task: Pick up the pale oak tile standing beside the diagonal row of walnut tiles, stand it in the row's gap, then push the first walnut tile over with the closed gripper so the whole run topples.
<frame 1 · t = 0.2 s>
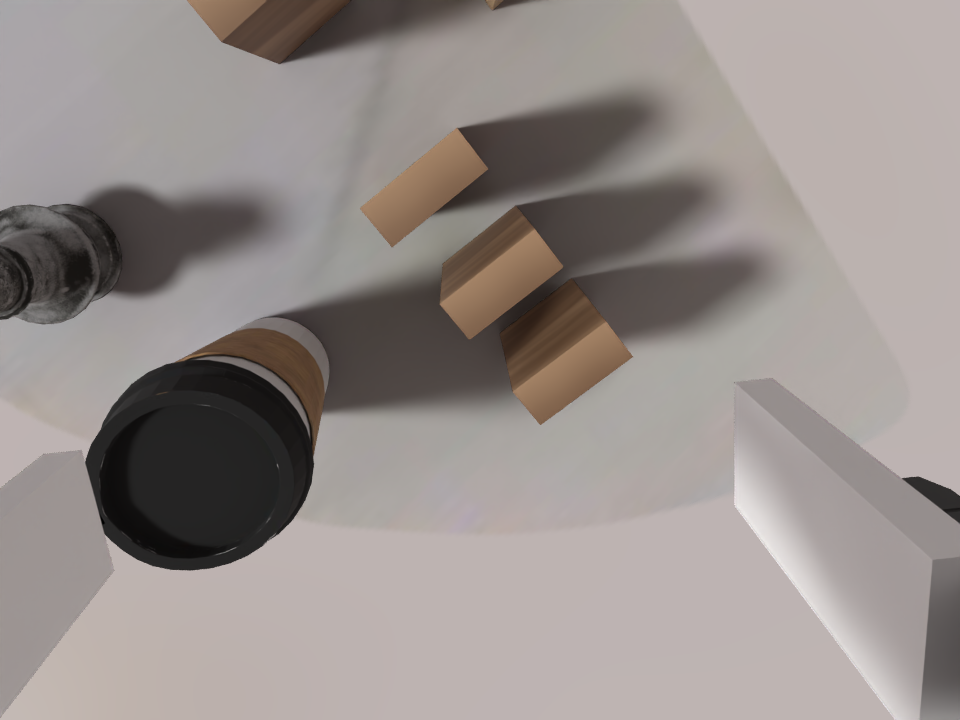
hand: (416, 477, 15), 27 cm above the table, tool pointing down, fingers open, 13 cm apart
domino 6: (546, 319, 43), on the table
coffee cup: (277, 366, 43), on the table
domino 4: (431, 174, 40), on the table
domino 5: (490, 249, 41), on the table
domino 2: (303, 13, 38), on the table
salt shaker: (73, 254, 41), on the table
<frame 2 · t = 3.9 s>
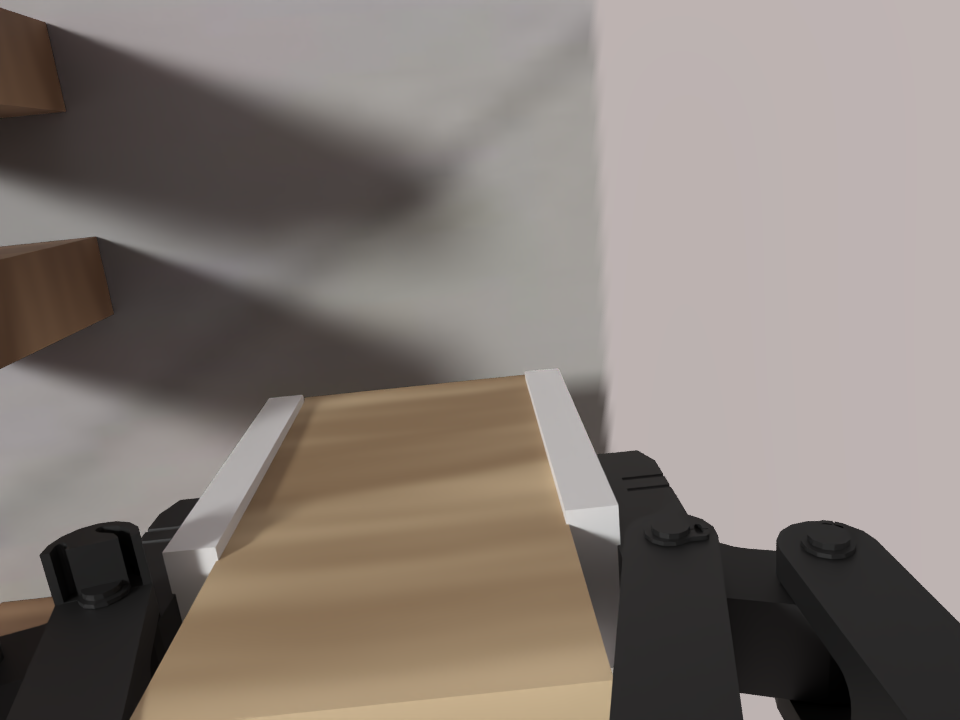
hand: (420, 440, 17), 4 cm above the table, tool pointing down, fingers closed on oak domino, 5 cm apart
oak domino: (420, 426, 18), point 3 cm above the table, touching gripper
domino 4: (97, 623, 22), on the table
domino 2: (7, 286, 20), on the table
when the fingers open (1 cm above the table, at t = 8.2 s): oak domino stays where it is, on the table.
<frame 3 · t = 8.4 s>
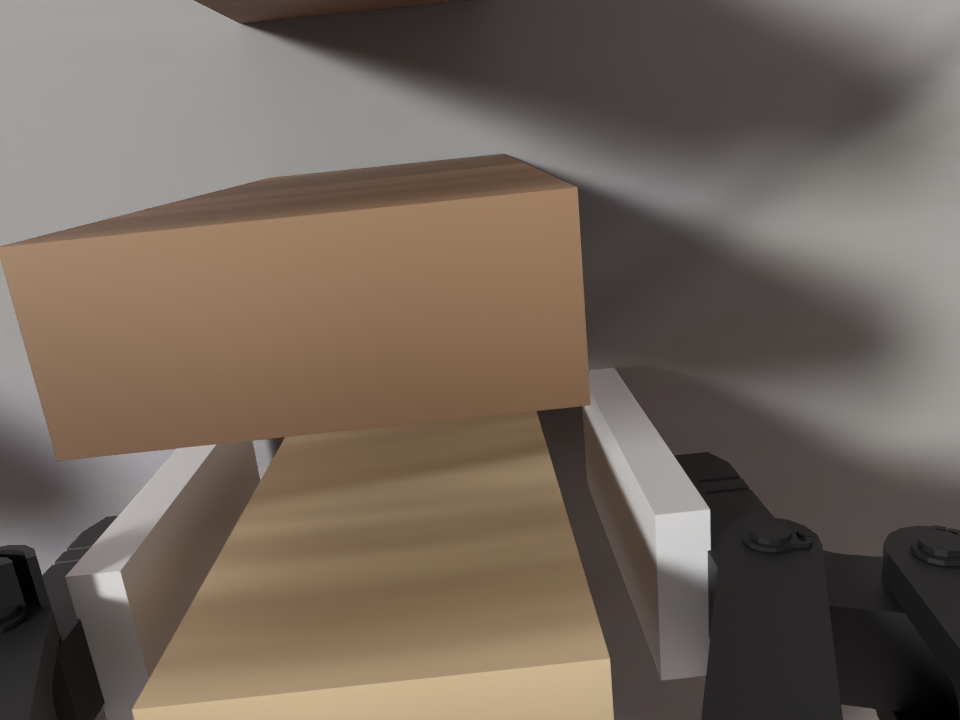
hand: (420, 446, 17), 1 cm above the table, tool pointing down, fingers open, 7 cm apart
oak domino: (422, 425, 18), on the table
domino 2: (392, 213, 16), on the table
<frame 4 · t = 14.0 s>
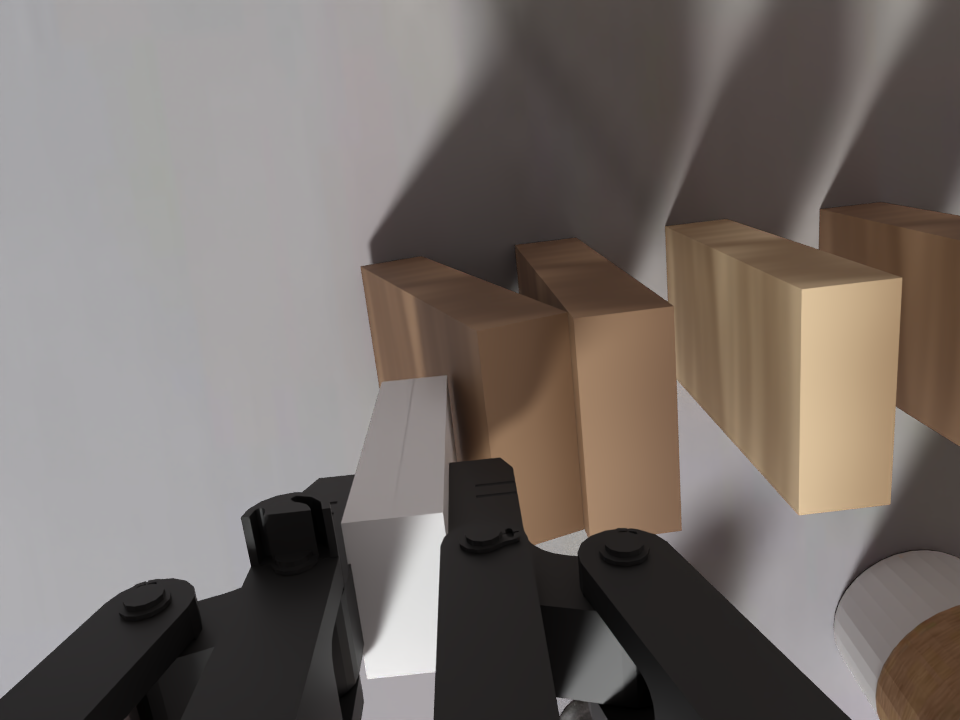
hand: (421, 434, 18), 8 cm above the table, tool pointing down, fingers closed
oak domino: (697, 298, 25), on the table
coffee cup: (905, 613, 30), on the table
domino 4: (847, 281, 25), on the table
domino 2: (551, 316, 25), on the table
domino 1: (402, 336, 25), on the table, tilted 19°, touching gripper
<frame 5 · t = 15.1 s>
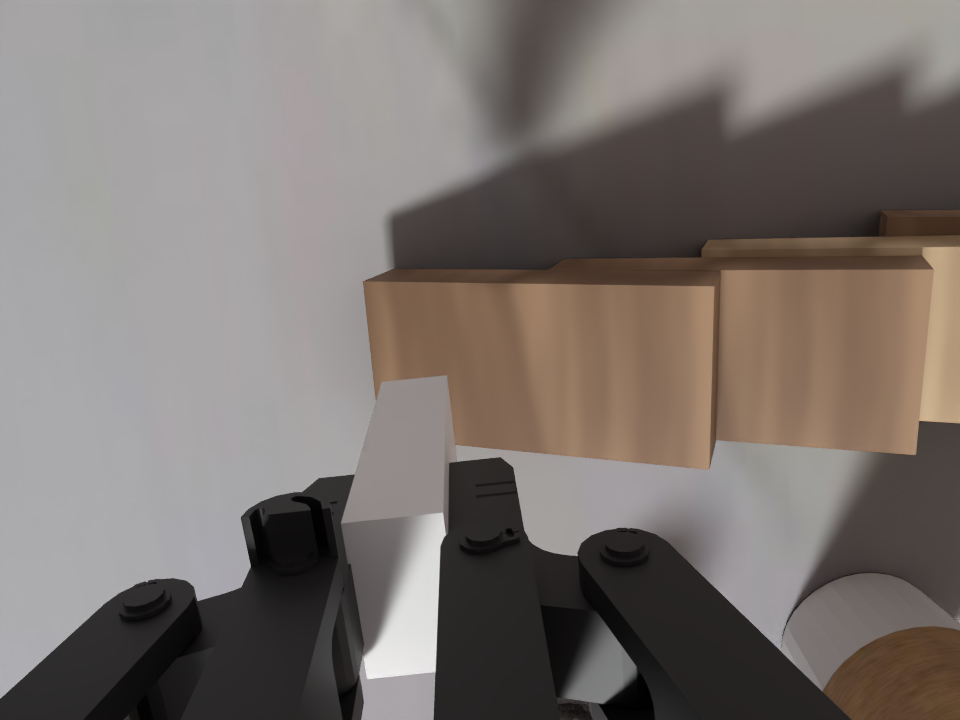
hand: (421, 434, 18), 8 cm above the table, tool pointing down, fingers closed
oak domino: (704, 322, 24), point 1 cm above the table, tilted 67°, touching domino 2, domino 4
coffee cup: (854, 636, 29), on the table
domino 4: (875, 293, 24), point 1 cm above the table, tilted 66°, touching domino 5, oak domino
domino 2: (559, 342, 24), point 1 cm above the table, tilted 67°, touching domino 1, oak domino
domino 1: (387, 352, 24), point 1 cm above the table, tilted 67°, touching domino 2
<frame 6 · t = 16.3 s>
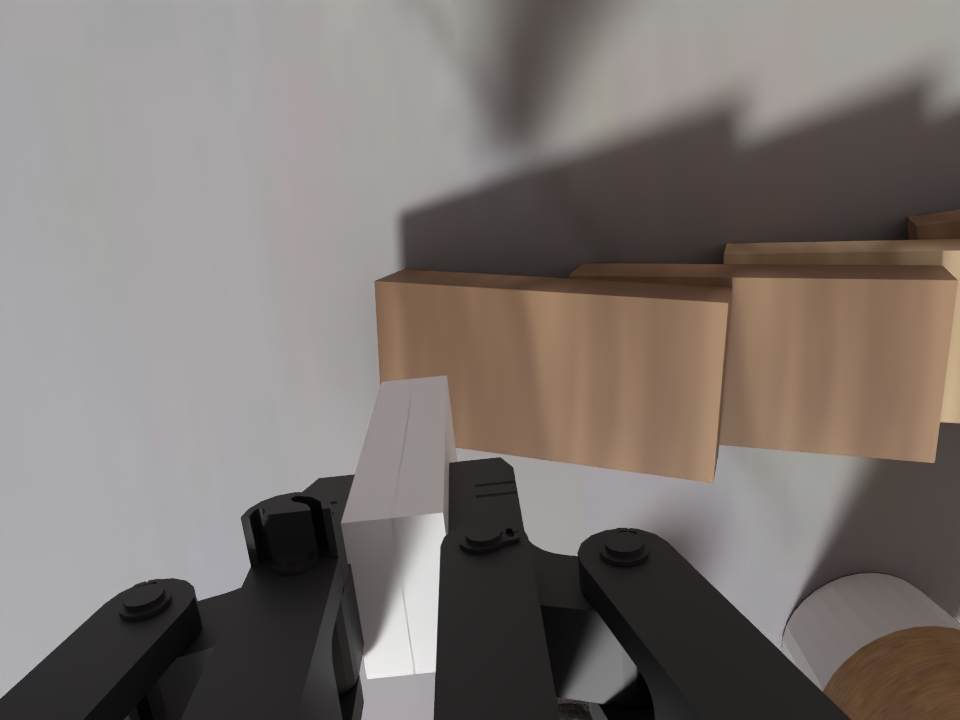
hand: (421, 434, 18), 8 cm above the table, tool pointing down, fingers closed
oak domino: (723, 326, 24), point 1 cm above the table, tilted 69°, touching domino 2
coffee cup: (854, 636, 29), on the table
domino 4: (915, 299, 24), point 1 cm above the table, tilted 68°, touching domino 5
domino 2: (577, 347, 24), point 1 cm above the table, tilted 68°, touching domino 1, oak domino
domino 1: (393, 352, 24), point 1 cm above the table, tilted 68°, touching domino 2
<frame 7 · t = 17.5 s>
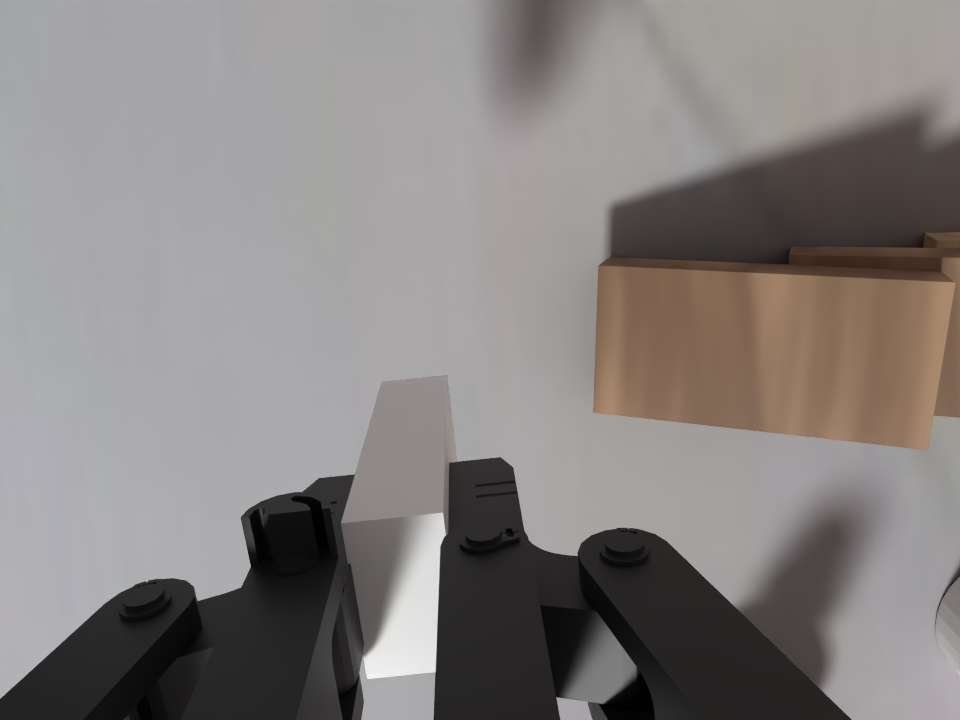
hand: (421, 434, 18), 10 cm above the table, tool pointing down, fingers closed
oak domino: (923, 309, 26), point 1 cm above the table, tilted 70°, touching domino 2, domino 4
domino 2: (785, 323, 26), point 1 cm above the table, tilted 66°, touching domino 1, oak domino
domino 1: (601, 334, 26), point 1 cm above the table, tilted 69°, touching domino 2
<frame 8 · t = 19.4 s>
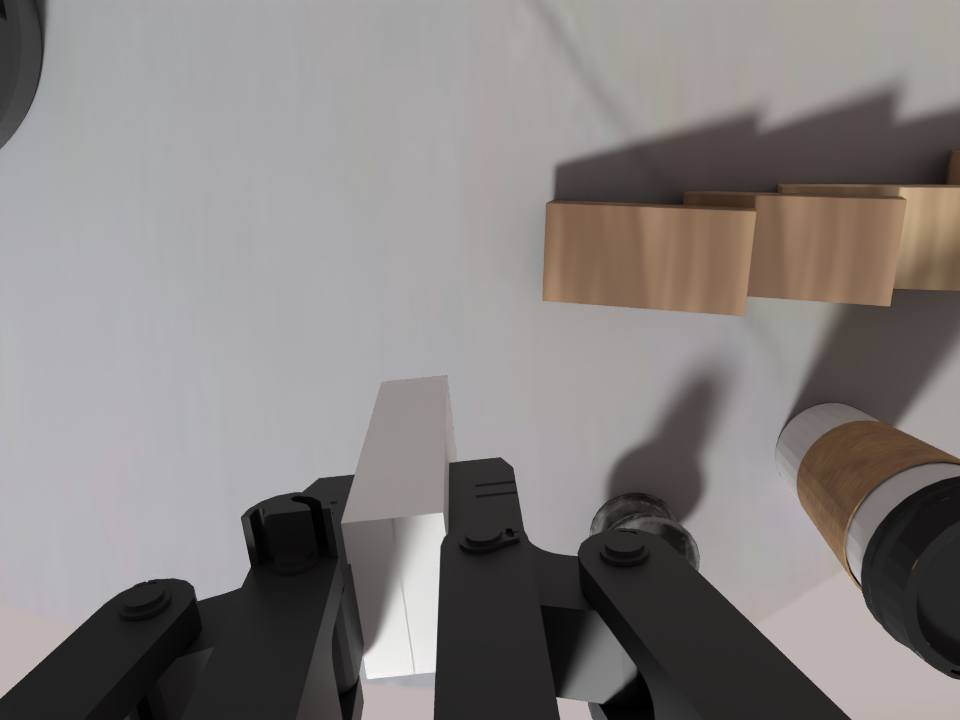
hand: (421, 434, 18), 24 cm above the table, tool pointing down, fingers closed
oak domino: (775, 233, 40), point 1 cm above the table, tilted 74°, touching domino 2
coffee cup: (823, 448, 45), on the table
domino 4: (944, 200, 40), point 1 cm above the table, tilted 61°, touching domino 5
domino 2: (682, 240, 40), point 1 cm above the table, tilted 67°, touching domino 1, oak domino
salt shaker: (632, 531, 46), on the table
domino 1: (548, 250, 40), point 1 cm above the table, tilted 71°, touching domino 2
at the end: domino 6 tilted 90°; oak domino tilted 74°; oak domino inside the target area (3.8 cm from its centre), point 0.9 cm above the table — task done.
